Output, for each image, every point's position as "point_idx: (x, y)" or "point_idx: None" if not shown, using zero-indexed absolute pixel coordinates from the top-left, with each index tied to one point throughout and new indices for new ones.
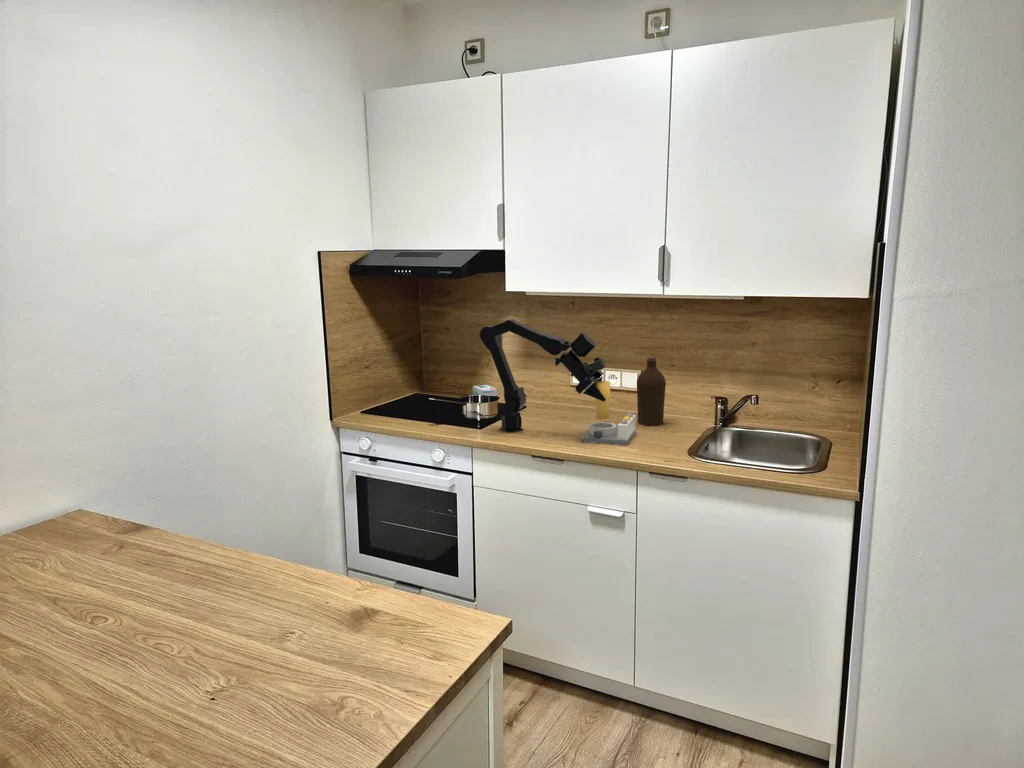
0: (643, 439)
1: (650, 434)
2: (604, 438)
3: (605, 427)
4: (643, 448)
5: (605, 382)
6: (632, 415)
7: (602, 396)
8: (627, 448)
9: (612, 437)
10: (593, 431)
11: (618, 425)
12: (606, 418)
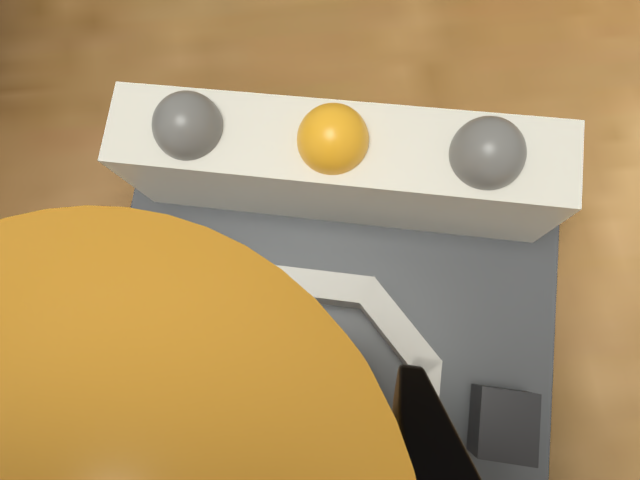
0: (351, 83)
1: (207, 49)
2: (520, 357)
3: None
4: (596, 65)
5: (133, 425)
6: (199, 93)
7: (456, 444)
8: (628, 171)
9: (471, 292)
10: None
11: (579, 205)
12: (361, 353)
